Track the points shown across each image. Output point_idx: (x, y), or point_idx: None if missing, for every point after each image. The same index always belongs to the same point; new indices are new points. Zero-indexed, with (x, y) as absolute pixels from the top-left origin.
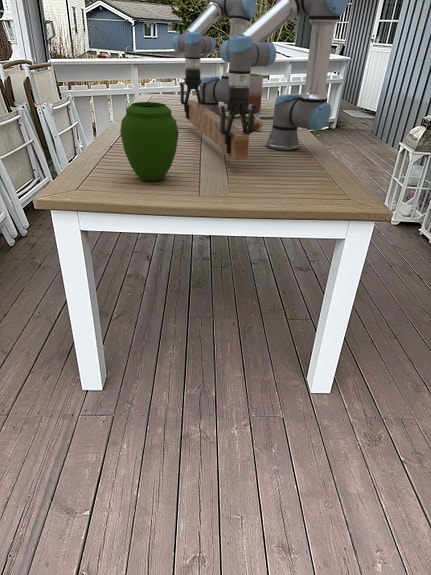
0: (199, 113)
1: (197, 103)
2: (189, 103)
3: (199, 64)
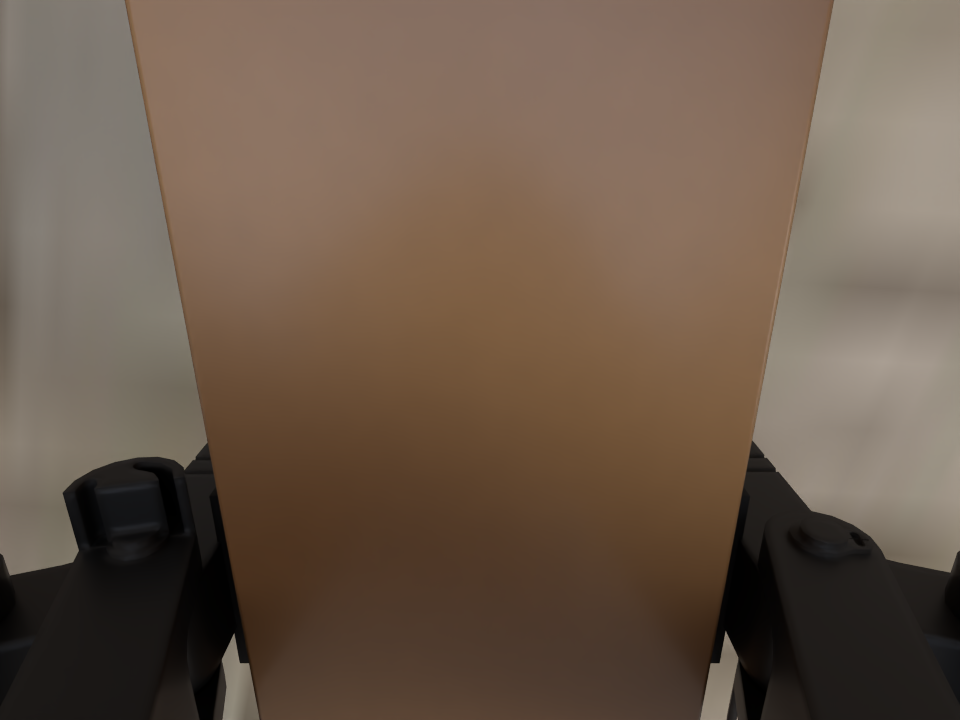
0: None
1: (306, 360)
2: (756, 411)
3: None
